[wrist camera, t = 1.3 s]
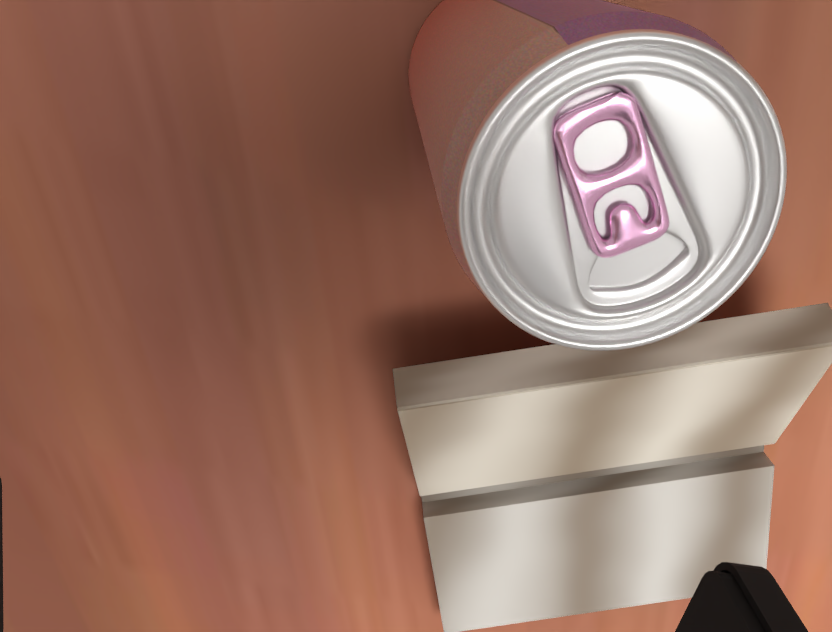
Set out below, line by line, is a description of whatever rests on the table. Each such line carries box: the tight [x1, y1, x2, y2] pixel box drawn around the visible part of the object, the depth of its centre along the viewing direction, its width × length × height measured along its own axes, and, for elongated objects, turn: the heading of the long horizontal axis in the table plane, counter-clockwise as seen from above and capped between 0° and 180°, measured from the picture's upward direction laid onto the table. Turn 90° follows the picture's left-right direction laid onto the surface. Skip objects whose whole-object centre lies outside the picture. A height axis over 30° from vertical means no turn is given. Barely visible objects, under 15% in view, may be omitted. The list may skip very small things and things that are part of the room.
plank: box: [393, 303, 832, 496], centre depth 29 cm, size 15×8×2 cm
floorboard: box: [421, 445, 774, 632], centre depth 35 cm, size 15×8×2 cm, turn 99°
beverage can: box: [409, 0, 787, 351], centre depth 20 cm, size 6×6×15 cm
